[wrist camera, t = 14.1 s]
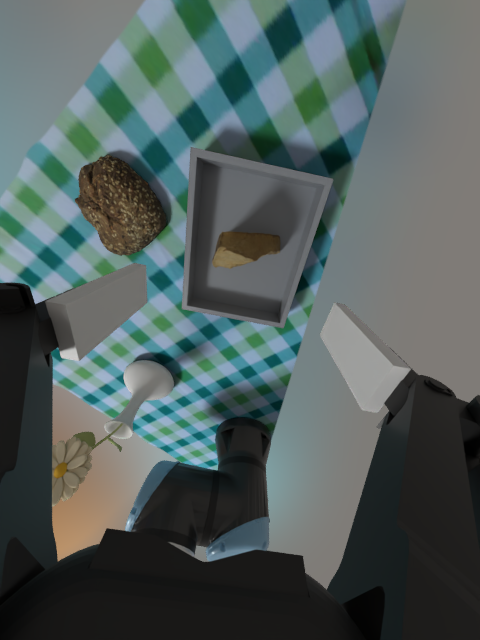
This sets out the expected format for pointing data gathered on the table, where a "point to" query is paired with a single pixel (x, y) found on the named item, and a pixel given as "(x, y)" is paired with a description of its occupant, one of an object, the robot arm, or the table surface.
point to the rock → (243, 248)
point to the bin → (253, 217)
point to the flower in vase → (107, 428)
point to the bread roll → (119, 205)
